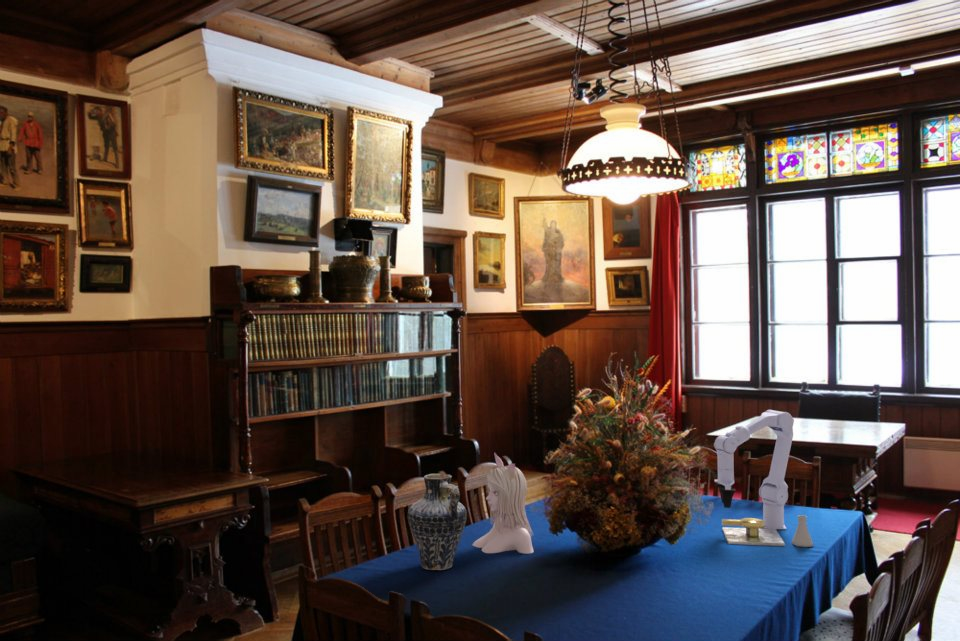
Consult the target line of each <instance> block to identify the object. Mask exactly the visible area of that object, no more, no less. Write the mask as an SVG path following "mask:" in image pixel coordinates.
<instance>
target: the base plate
mask: <svg viewBox="0 0 960 641" xmlns="http://www.w3.org/2000/svg"><path fill="white" fill-rule="evenodd" d="M722 533H723V535H724V537H725V540H726V542H727V545H747V546H749V545H750V546H769V547H772V546H773V547H785V546H786V543H785V542H784V540H783V538H782V537H781V536H780V534H779V532H778V531H777V529H765V528H758V529H757V537H753V536H750V528H746V527H729V526H727V527H726V526H725V527H724V526H723V527H722Z"/></svg>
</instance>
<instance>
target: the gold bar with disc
mask: <svg viewBox="0 0 960 641" xmlns="http://www.w3.org/2000/svg"><path fill="white" fill-rule="evenodd" d="M721 525H722V526H739V527H741V528H750V536H753V537H757V529H758V528H759V529H764V527H765V522H764V521H763V519H760V518H754V517H744V518H740V519H731V518H729V519H728V518H722V519H721Z"/></svg>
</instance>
